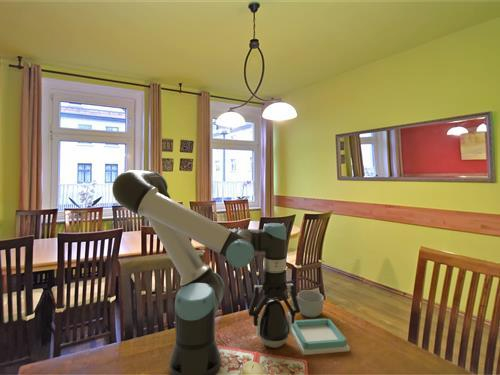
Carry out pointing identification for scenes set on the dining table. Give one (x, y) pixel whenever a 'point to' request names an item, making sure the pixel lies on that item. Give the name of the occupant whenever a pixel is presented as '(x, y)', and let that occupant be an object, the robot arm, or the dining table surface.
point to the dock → (318, 336)
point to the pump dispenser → (273, 324)
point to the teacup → (309, 303)
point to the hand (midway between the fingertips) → (273, 333)
